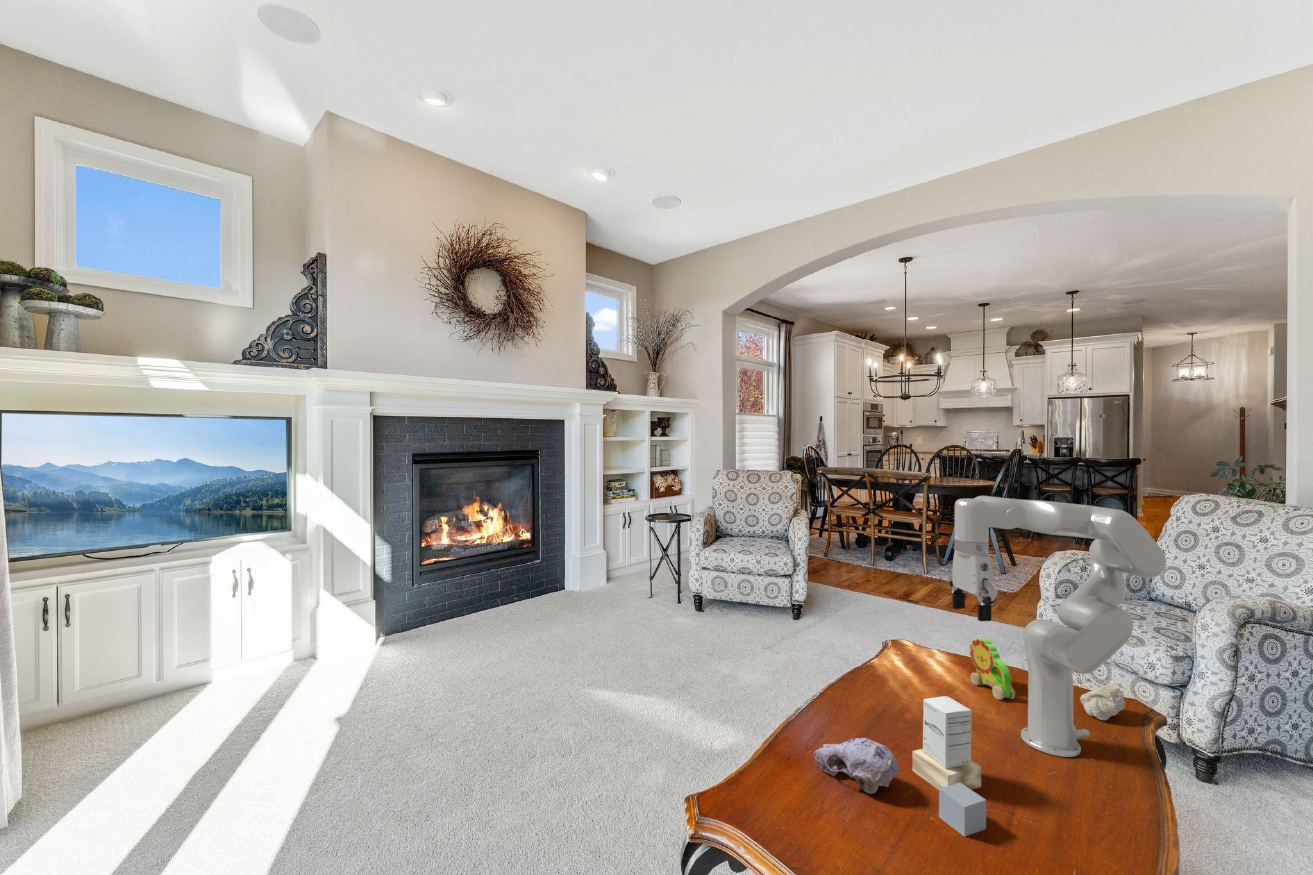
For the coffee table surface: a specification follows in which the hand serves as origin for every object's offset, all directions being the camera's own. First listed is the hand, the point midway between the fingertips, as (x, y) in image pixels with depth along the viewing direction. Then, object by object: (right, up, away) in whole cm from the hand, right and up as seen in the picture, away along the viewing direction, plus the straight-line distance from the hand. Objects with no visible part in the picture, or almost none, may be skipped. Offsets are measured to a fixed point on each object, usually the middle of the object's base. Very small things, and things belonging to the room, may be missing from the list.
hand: (971, 614), depth 139 cm
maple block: (-13, -35, -12) cm, 39 cm away
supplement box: (-13, -30, -12) cm, 35 cm away
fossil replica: (+47, -35, +17) cm, 61 cm away
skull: (-34, -35, -12) cm, 50 cm away
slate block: (-17, -34, -27) cm, 47 cm away
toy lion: (+25, -35, +33) cm, 54 cm away
